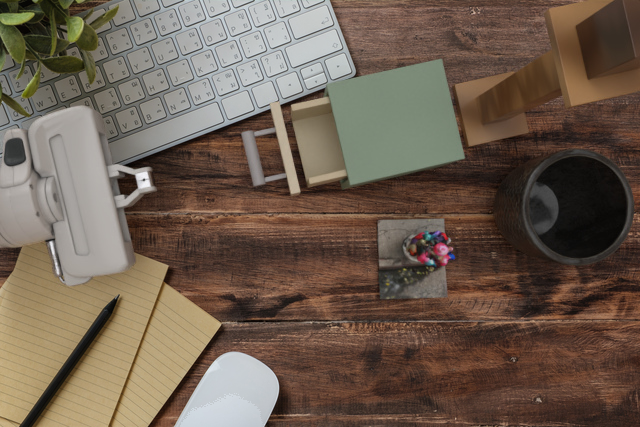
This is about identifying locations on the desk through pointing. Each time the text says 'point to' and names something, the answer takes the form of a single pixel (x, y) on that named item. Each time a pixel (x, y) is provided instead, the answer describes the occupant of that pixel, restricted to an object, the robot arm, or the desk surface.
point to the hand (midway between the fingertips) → (153, 178)
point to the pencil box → (611, 39)
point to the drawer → (301, 146)
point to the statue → (413, 258)
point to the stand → (538, 82)
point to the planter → (565, 207)
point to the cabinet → (394, 123)
